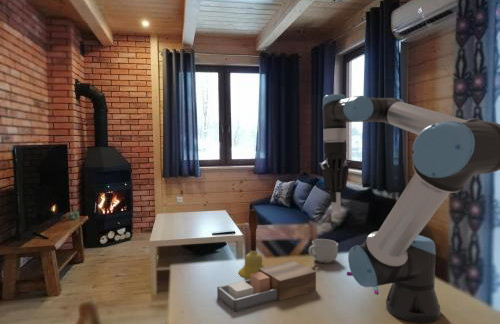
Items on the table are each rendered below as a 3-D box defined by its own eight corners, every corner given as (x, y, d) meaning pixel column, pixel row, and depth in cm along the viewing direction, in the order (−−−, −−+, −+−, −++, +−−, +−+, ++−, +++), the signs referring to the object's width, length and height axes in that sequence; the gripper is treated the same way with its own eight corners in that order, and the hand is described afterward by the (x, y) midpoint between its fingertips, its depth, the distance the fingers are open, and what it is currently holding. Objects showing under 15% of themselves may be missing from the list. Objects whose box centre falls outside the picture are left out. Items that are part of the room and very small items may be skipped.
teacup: (328, 255, 167) (328, 237, 166) (343, 263, 157) (343, 244, 156) (300, 259, 162) (300, 241, 161) (314, 267, 152) (314, 248, 151)
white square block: (236, 291, 119) (237, 303, 120) (253, 287, 122) (253, 299, 123) (228, 285, 125) (228, 296, 125) (244, 281, 128) (244, 292, 128)
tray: (277, 299, 124) (277, 289, 123) (234, 311, 116) (234, 300, 115) (257, 286, 134) (257, 277, 134) (217, 297, 126) (217, 287, 126)
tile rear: (259, 297, 124) (269, 294, 126) (259, 279, 123) (269, 277, 125) (250, 291, 129) (260, 288, 131) (250, 273, 129) (260, 271, 131)
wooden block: (315, 290, 131) (315, 271, 130) (280, 300, 123) (280, 281, 122) (293, 277, 142) (293, 260, 141) (259, 286, 134) (258, 268, 134)
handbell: (276, 273, 147) (275, 209, 145) (252, 282, 138) (251, 214, 136) (254, 265, 156) (253, 205, 154) (231, 273, 147) (230, 209, 145)
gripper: (339, 141, 133) (341, 208, 134) (312, 142, 126) (314, 212, 127) (356, 141, 127) (357, 210, 128) (329, 141, 120) (330, 215, 121)
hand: (336, 211), depth 128 cm, fingers closed
